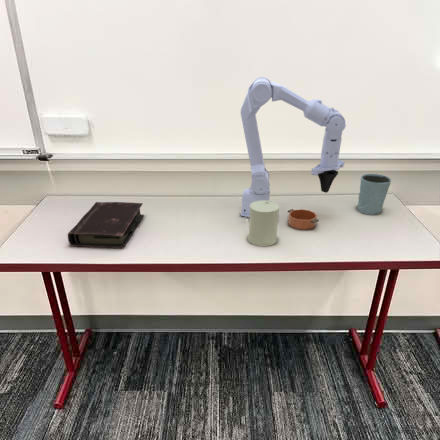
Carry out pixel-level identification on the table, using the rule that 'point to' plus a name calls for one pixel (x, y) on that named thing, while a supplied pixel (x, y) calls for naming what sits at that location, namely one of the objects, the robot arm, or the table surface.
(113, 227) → the diary
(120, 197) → the table surface
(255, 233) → the can
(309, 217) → the pan
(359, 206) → the grey cylinder
